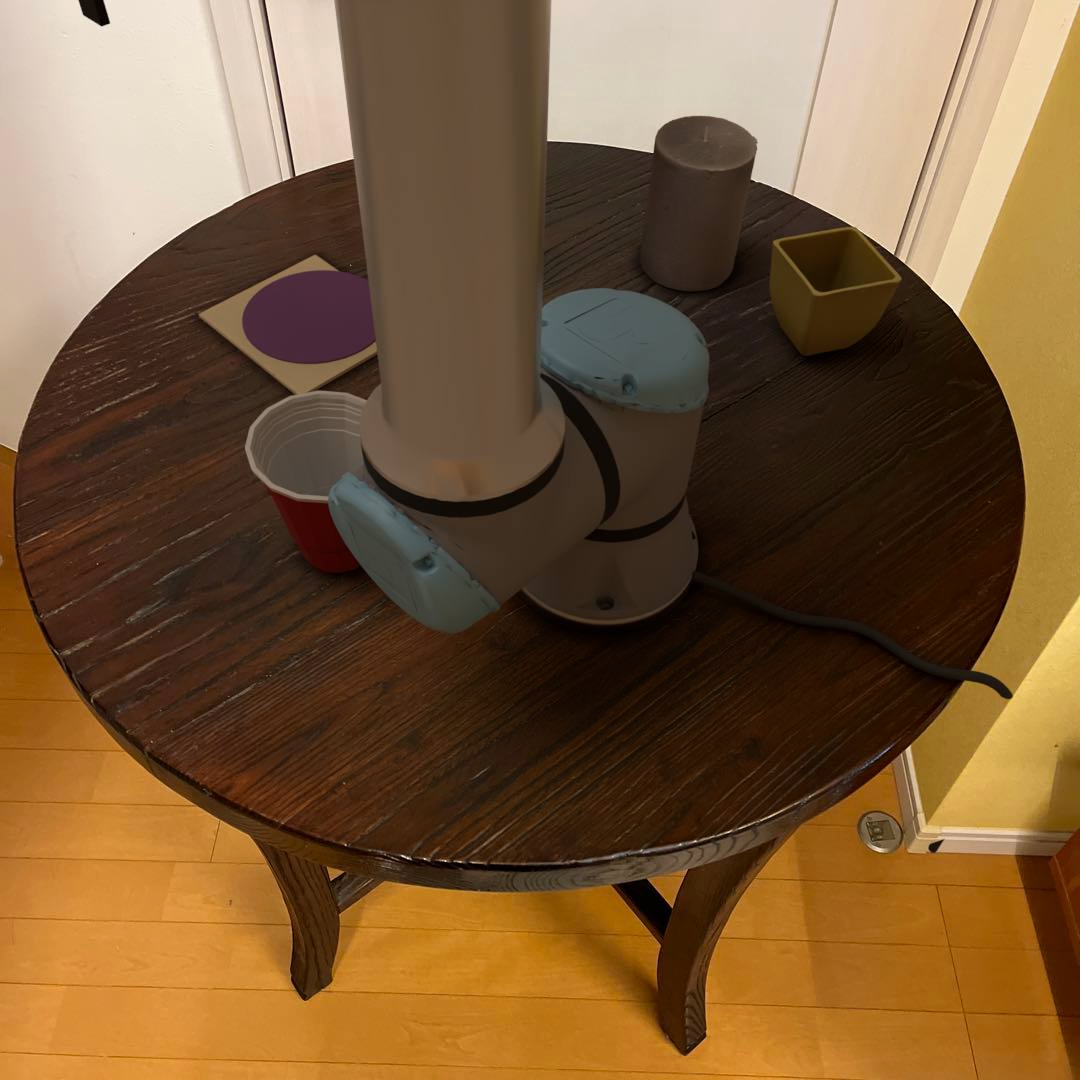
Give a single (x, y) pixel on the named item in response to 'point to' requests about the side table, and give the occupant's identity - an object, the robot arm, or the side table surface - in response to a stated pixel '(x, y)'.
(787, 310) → the flower pot
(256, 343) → the place mat
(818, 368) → the side table surface
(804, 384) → the side table surface
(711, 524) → the side table surface
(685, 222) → the pillar candle
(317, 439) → the plastic cup
